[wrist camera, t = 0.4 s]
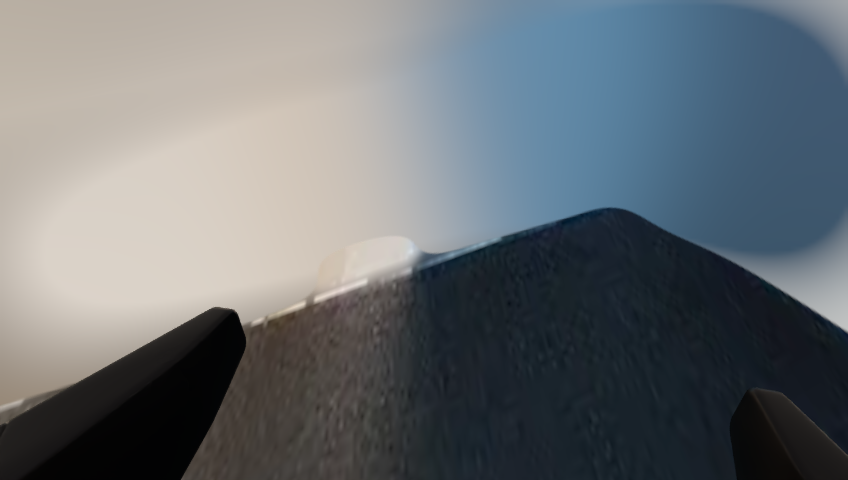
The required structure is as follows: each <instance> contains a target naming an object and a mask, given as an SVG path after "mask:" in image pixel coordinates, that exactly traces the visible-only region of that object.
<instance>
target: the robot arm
mask: <svg viewBox="0 0 848 480" xmlns="http://www.w3.org/2000/svg"><path fill="white" fill-rule="evenodd" d="M245 347H246V337H245V334H244V331H243V328H242V325H241V323H240V319H239V316H238V314H237V312H236V311H235V310H233V309H228V308H221V307H214V308H211V309H209V310H207V311H205V312H204V313H202V314H200V315H198V316H196V317H195V318H193V319H191V320H189V321H188V322H186V323H184V324H182V325H181V326H179V327H177V328H175V329H173V330H172V331H169V332H168V333H166V334H164V335H162V336H161V337H159V338H157V339H155V340H153V341H152V342H150V343H148V344H146V345H144V346H142V347H141V348H139V349H137V350H135V351H133V352H132V353H130V354H128V355H126V356H125V357H123V358H121V359H119V360H117V361H115V362H114V363H112V364H110V365H108V366H107V367H105V368H103V369H101V370H99V371H98V372H96V373H94V374H92V375H90V376H89V377H87V378H85V379H83V380H81V381H79V382H78V383H76V384H74V385H72V386H70V387H69V388H67V389H65V390H63V391H61V392H60V393H58V394H56V395H54V396H52V397H51V398H49V399H47V400H45V401H43V402H42V403H40V404H38V405H36V406H34V407H33V408H31V409H29V410H27V411H25V412H24V413H22V414H20V415H18V416H16V417H15V418H13V419H11V420H10V421H9V422H8V423H4V424H2V425H0V480H181V478H182V477H183V475H184V473H185V471H186V470H187V468H188V466H189V464H190V462H191V461H192V459H193V457H194V455H195V454H196V452H197V450H198V448H199V446H200V445H201V443H202V441H203V439H204V438H205V436H206V434H207V432H208V430H209V428H210V427H211V425H212V423H213V421H214V419H215V417H216V415H217V412H218V410H219V408H220V406H221V404H222V401H223V399H224V397H225V394H226V392H227V390H228V388H229V385H230V383H231V381H232V378H233V376H234V374H235V372H236V369H237V367H238V365H239V363H240V360H241V358H242V356H243V353H244V351H245ZM730 436H731V443H732V449H733V456H734V463H735V469H736V476H737V480H848V455H847V454H846V453H845V452H844V451H843V450H842V449H841V448H840V447H839V446H838V445H837V444H835V443H834V442H833V441H832V440H831V439H830V438H829V437H828V436H827V435H826V434H825V433H824V432H823V431H822V430H821V429H820V428H819V427H818V426H817V425H816V424H815V423H813V422H812V421H811V420H810V419H809V418H808V417H807V416H806V415H805V414H804V413H803V412H802V411H801V410H800V409H799V408H798V407H797V406H796V405H795V404H794V403H793V402H791V401H790V400H789V399H788V398H787V397H786V396H785V395H784V394H782V393H781V392H778V391H774V390H768V389H761V388H750V389H749V390H747V391H746V393H745V394H744V396H743V398H742V400H741V402H740V403H739V405H738V407H737V409H736V411H735V412H734V414H733V416H732V418H731V422H730Z"/></svg>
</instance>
